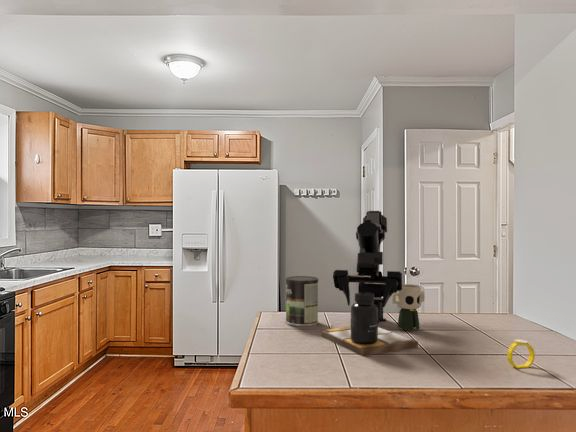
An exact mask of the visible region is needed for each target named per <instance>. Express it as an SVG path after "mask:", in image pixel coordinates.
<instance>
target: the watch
mask: <svg viewBox="0 0 576 432" xmlns="http://www.w3.org/2000/svg"><path fill="white" fill-rule="evenodd" d="M518 346H523V347H524V346H525V347H526V348H527V349H528V353H529V354H528V355H529V356H528V359H527V361H526V362H525V363H524V364H515V363H514V359H513V353H514V351H515V349H516V348H517V347H518ZM535 354H536V353H535V350H534V347H533V345H531V344H530V343H529V341H527V340H524V339H518V338H517V339H514V340H513V343H511V344H510V345H509V347H508V349H507V350H506V358H507V362H508V363H509V365H511V367H513V368H515V369H528V368H530V367H531V366H532V365H533V363H534V361H535V359H536V358H535V357H536V355H535Z"/></svg>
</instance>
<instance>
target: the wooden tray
mask: <svg viewBox="0 0 576 432" xmlns="http://www.w3.org/2000/svg"><path fill="white" fill-rule="evenodd" d="M320 332H321V334H320V335H321V337H322V338H324V339H326V340H328V341H330V342H333V343H334V344H337V345H339V346H340V347H341V346H342V347H343V348H345V349H348V350H349V351H352V352H354V353H356V354H358V355H360V356H362V357H364V356H372V355H376V354H384V353H389V352H395V350H396V351H401V350H402V349H403V350H407V349H413V348H418V347H419V340H417V339H416V340H415V339H412V338H411V337H408V336H405V335H402V334H399V333H397V332H393V331H390V330H388V329H386V328H383V327H380V326H378V340H377V342H376V343H374V344H358V343H355V342H353V341H352V340H351V325H350V326H342V327H335V328H333V327H332V328H327V329H326V328H325V329H324V330H321V331H320Z"/></svg>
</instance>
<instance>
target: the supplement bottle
mask: <svg viewBox="0 0 576 432" xmlns="http://www.w3.org/2000/svg"><path fill="white" fill-rule="evenodd" d="M354 302H355V303H353V304H352V305H350V326H351V340H352V341H353V342H355V343H358V344H374V343H376V342H377V340H378V327H379V322H378V308H377V306H376V305H375V304H373V302H374V294H372V293H359V292H356V293H354Z"/></svg>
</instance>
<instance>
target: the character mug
mask: <svg viewBox="0 0 576 432" xmlns="http://www.w3.org/2000/svg"><path fill="white" fill-rule="evenodd" d="M391 300H392V304H393V305H396V307H398V308H399V309H400V310H399V312H398V320H397V327H398V328H399V329H401V330H402V331H414V329H415V331H418V330H420V319H419V312H418V310H417V309H419V308H421V307H422V303H423V302H425V291H424V290H422V286H421V285H418V284H411V283H402V290H401V291H397V292H396V293H393V294H392V295H391Z"/></svg>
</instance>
